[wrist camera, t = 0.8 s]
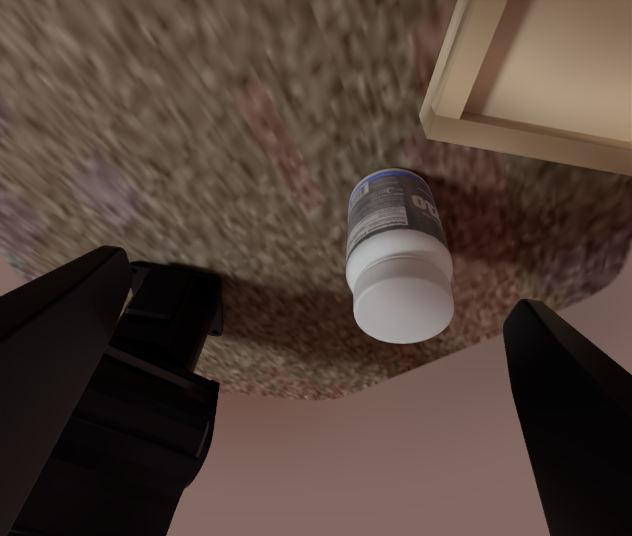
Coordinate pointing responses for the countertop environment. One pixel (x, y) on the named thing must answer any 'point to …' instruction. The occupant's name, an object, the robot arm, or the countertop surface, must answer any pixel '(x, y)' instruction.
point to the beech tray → (537, 81)
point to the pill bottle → (398, 258)
